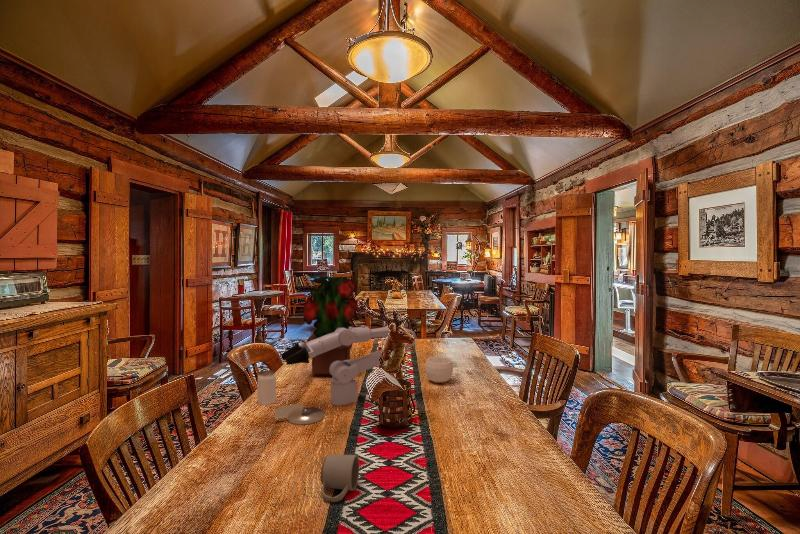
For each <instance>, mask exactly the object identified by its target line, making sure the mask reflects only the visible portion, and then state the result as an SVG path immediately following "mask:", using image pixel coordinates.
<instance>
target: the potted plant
mask: <svg viewBox="0 0 800 534" xmlns="http://www.w3.org/2000/svg"><path fill="white" fill-rule="evenodd" d="M352 277H353V276H334V277H332V276H321V275H319V276H318V277H313V282H314V283H315V284H319V285H318V286H317V287H316V288H314V289H311V290H310V293H309V294H310V296H312V297H308V298H307V299H306V301H305V302H303V321H304V322H305V323H306V324H307V325H309V326H310V325H311V324H312V323H313V327H314V328H316V329H314V331H313V332H312V334H311V335H310V336H309V337H308V338H306V340H307V342H309V341H311V340H314V339H317V338H319V337H322V336H324V335H327V334H330V333H333V332H335V330H336V329H337V328H339V327H340V328H346V329H348V328H349V327H352V328H353V324H352V323H350V322H351V321H352V320H353V321H355V314H356V313H357V314H358V313H359V311H358V308H359V307H358V303H359V300H358V299H359V298H358V297H357V298H355V297H352V296H353V293H355V292H356V290H357V285H356V283H355V282H354V281H353V279H350V278H352ZM313 321H315V322H313ZM340 344H341V343H340ZM353 345H354V343H352V344H351V345H349V346H347V345H342V344H341V346H339V347H336V348H334V349H332V350H329V351H327V352H324V353H322V354H319V355H317V356H315V357H313V358H311V374H315V375H316V377H331V376H332V375H331V374H330V372H329V368H330V365H331V364H332V363H333V362H334V361H344V360H351V350H352V348H353ZM331 378H332V377H331Z"/></svg>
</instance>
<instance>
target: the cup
mask: <svg viewBox="0 0 800 534" xmlns="http://www.w3.org/2000/svg"><path fill="white" fill-rule="evenodd" d="M424 370H425V371H424V372H425V374H426V378H428V379H429V380H430V381H431V382H432V383H433V382H434V384H437V383H442V384H444V382H445V383H446V382H448V381H450V380H451V378H452V376H453V372H454V364H453V359H450V358H448V357H443V356H432V357H429V358H427V359H426V361H425V366H424Z"/></svg>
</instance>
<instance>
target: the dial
mask: <svg viewBox="0 0 800 534" xmlns="http://www.w3.org/2000/svg"><path fill="white" fill-rule="evenodd" d="M324 417H325V412H324V410H323V409H322V408H319V407H316V406H304V404H303V403H294V404H288V405H282V406H280V405H275V406H274V419H275V420H279V419H286V420H287V422H289V423H290V424H293V425H295V426H296V425H298V426H305V425H306V426H307V425H312V424H316V423H318V422H320V421H322V420H323V419H324Z"/></svg>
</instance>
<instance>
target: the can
mask: <svg viewBox="0 0 800 534" xmlns="http://www.w3.org/2000/svg"><path fill="white" fill-rule="evenodd" d="M276 401H277V375H276V374H275V371H274V370H262V371H260V372H259V373H258V376H257V404H258V405H263V406H264V405H265V406H266V405H271V404H274V403H276Z"/></svg>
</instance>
